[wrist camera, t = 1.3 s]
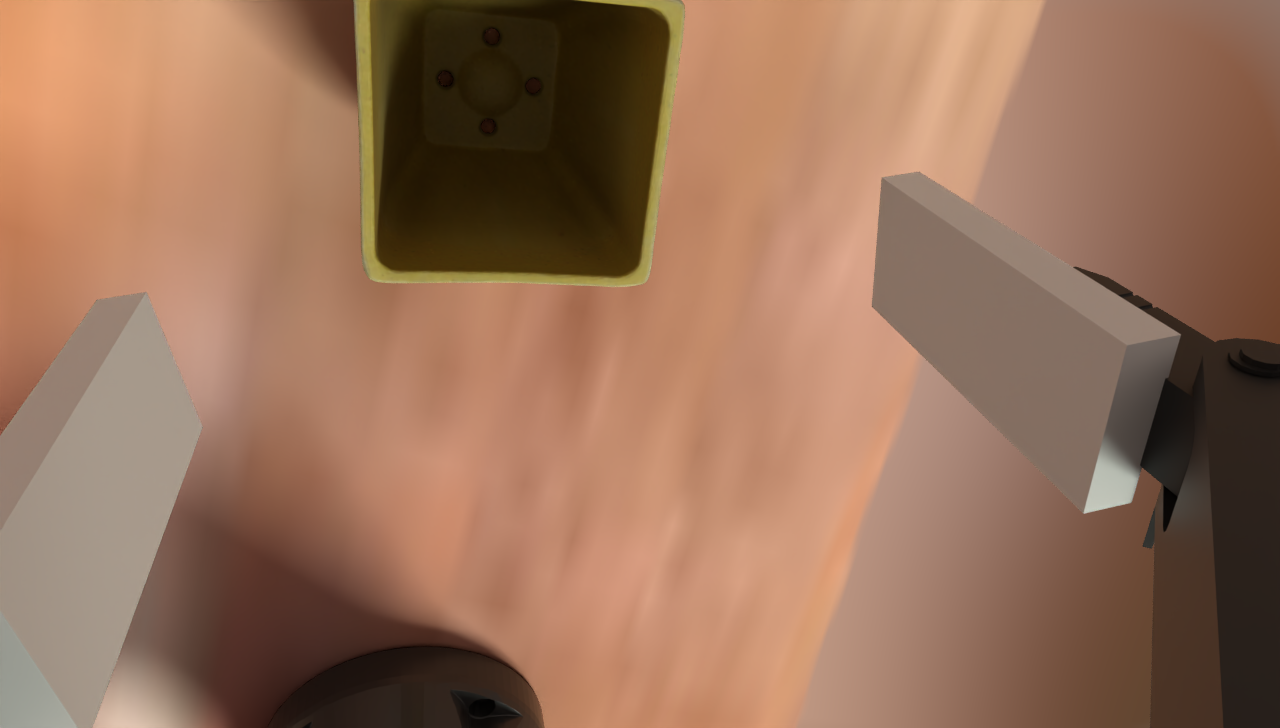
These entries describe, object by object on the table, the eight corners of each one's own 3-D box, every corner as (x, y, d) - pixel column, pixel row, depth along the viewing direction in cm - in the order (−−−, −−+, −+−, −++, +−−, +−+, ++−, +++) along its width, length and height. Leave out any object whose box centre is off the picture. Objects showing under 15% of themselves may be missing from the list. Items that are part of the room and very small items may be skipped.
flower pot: (621, -35, 31) (692, -3, 23) (597, 199, 35) (649, 290, 27) (366, -66, 29) (351, -43, 21) (371, 188, 33) (361, 283, 25)
